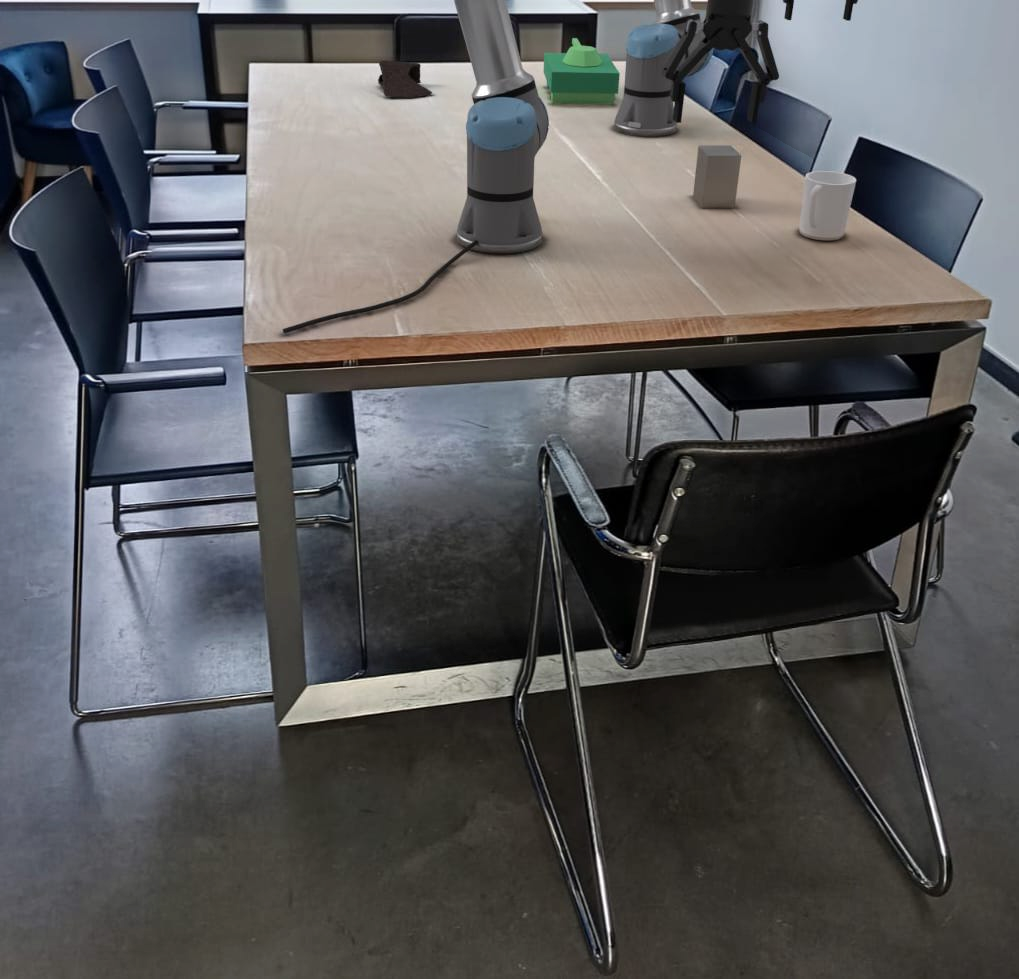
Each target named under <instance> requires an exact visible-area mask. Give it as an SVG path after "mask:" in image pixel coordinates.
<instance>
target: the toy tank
mask: <svg viewBox="0 0 1019 979" xmlns="http://www.w3.org/2000/svg"><path fill="white" fill-rule="evenodd" d="M571 45H572V46H570V47H569V48H568V50H567V52H544V53H543V75H544V77H545V80H546V88H549V92H550V100H551V104H561V105H563V104H565V105H567V104H568V105H570V104H571V105H573V104H574V105H614V104H615V97H616V95H618V94H619V88H620V71H619V70H618V68H617V67H616V66H615V64H614V62H613V61H612V60H611V58H610V56H609V55H608V53H599V51H598V49H597V48H596V47H593V46H589V45H582V44H581V42H580V41H579V39H578V37H572V38H571Z"/></svg>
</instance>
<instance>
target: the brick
mask: <svg viewBox="0 0 1019 979" xmlns="http://www.w3.org/2000/svg"><path fill="white" fill-rule="evenodd" d="M741 161H742V155H741V154H740V153H739V152H738V151H737V150H736V148H734V147H733V145H729V144H728V145H727V144H725V145H724V144H723V145H720V144H719V145H716V144H715V145H709V144H708V145H705V144H704V145H702V144H701V145H698V146H697V156H696V166H695V174H694V182H693V192H692V197H693V199H694V200H695V201H696V202H697V204H698V205H699V206H700V207H701V208H702V209H735V208H736V200H737V194H738V185H739V178H740V171H741V169H740V168H741Z"/></svg>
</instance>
